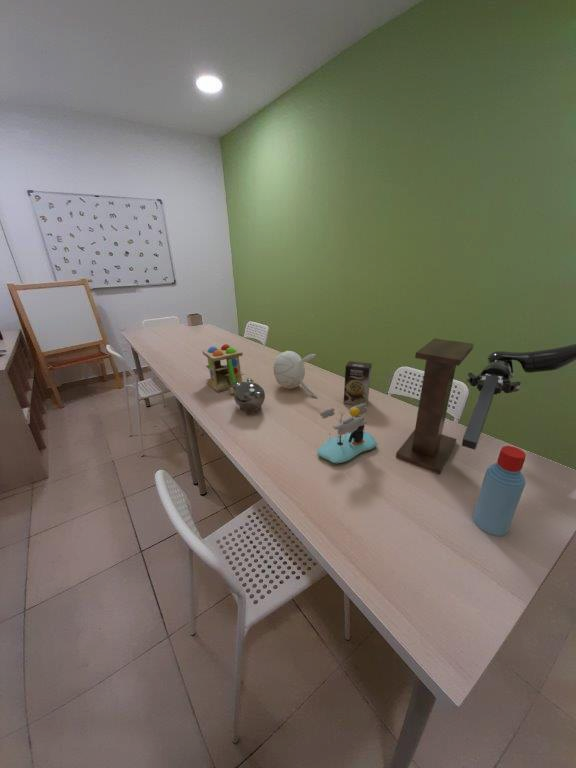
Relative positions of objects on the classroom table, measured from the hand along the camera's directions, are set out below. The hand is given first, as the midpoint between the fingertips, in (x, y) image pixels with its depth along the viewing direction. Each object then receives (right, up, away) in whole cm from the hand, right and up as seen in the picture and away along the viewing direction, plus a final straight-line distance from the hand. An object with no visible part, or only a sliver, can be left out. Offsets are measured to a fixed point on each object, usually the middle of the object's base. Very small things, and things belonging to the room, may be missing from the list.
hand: (488, 389), depth 82 cm
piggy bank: (-70, -9, +36) cm, 79 cm away
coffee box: (-27, -6, +39) cm, 48 cm away
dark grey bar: (-3, -6, -1) cm, 7 cm away
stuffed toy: (-51, -1, +51) cm, 73 cm away
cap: (-11, -15, -22) cm, 29 cm away
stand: (-13, -19, +9) cm, 24 cm away
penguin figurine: (-36, -19, +10) cm, 42 cm away
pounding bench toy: (-82, 0, +57) cm, 99 cm away
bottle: (-10, -29, -16) cm, 35 cm away
